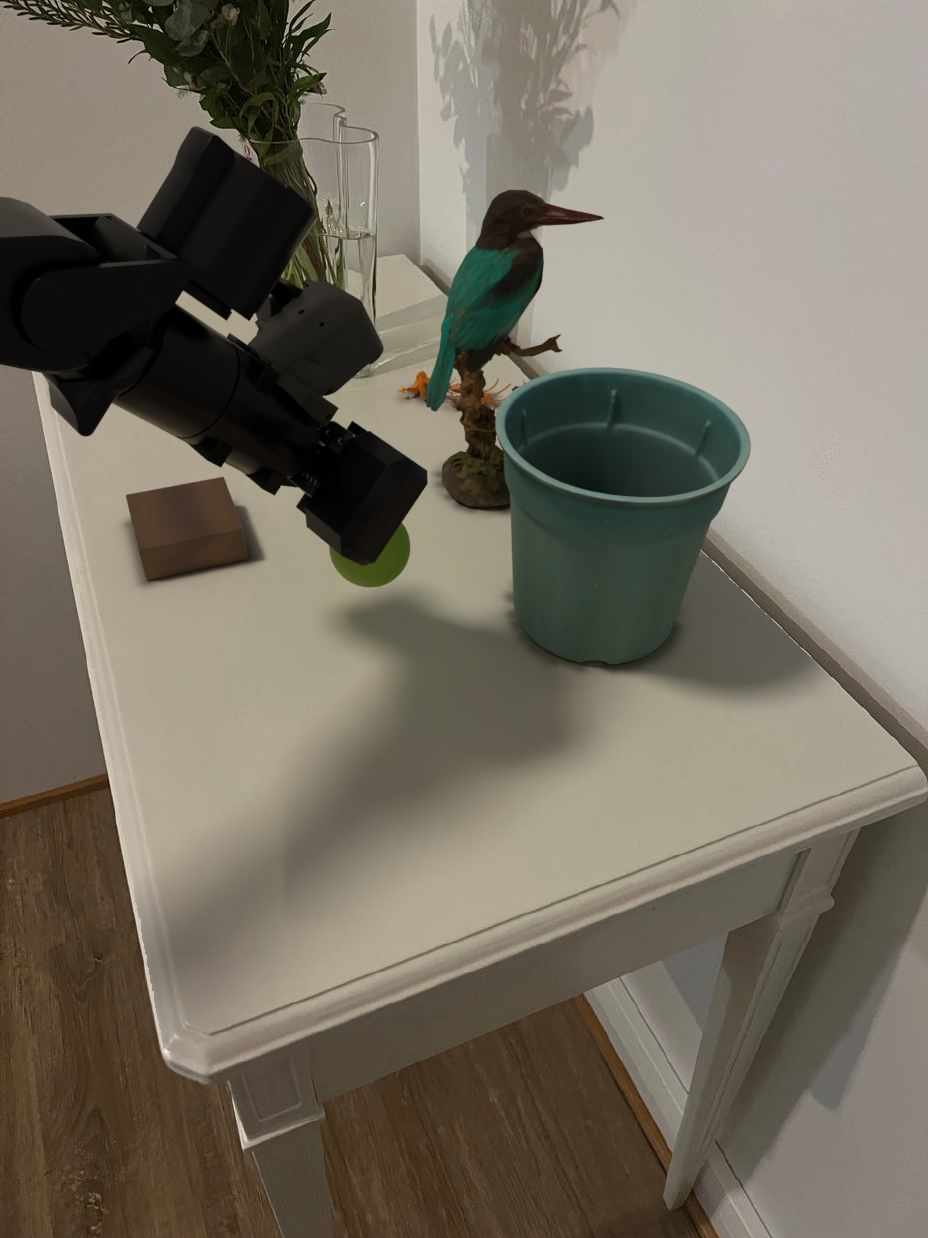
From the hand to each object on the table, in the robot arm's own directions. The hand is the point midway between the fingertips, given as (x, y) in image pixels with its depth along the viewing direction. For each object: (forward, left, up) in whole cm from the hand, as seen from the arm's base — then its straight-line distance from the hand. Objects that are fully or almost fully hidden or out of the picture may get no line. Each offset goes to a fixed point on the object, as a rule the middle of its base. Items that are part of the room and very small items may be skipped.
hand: (378, 494), depth 61 cm
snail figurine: (-1, -1, -7) cm, 7 cm away
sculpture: (+15, +16, -12) cm, 25 cm away
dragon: (+17, +31, -12) cm, 37 cm away
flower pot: (+15, -3, -12) cm, 20 cm away
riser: (-12, +16, -12) cm, 23 cm away
